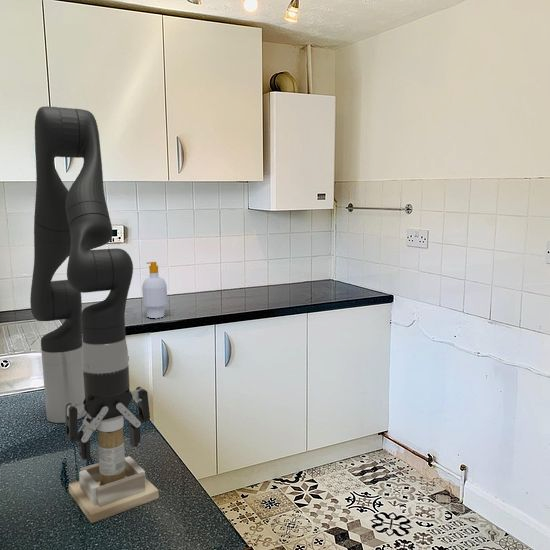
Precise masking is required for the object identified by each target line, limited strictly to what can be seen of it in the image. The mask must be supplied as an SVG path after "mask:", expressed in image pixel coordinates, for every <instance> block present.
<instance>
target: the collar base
mask: <svg viewBox="0 0 550 550" xmlns="http://www.w3.org/2000/svg"><path fill="white" fill-rule="evenodd" d="M79 469H80V471H79V472H78V477H79V480H77V481H74V482H71V483H68V485H67V486H68V493H69V494H70V495H71V497H72V498H73V500H74V501H75V502H76V504H77V505H78V507H79V508H80V510H81V511H82V512H83V514H84V515H85V517H86V518H87V519H88V521H89V522H90V524H93V523H96V522H99V521H101V520H104V519H105V520H106V519H107V518H110V517H112V516H115V515H118V514H120V513H123V512H126V511H129V510H131V509H133V508H137V507H139V506H142V505H144V504H147V503H150V502H152V501H155V500H157V499H159V498H160V494H159V493H160V491H159V489H158V488H157V487H156V486H155V485H154V484H153V483H152V482H151V481H150V480H149V479H147V477H146V470H144V468H142V467H141V466H140V465H139V464H138V463H137V462H136V461H135V459H133V458H132V457H131V456H129V455H128V456H126V455H125V478H123V479H120V480H117V481H114V482H111V483H108V484H105V485H102V486H100V471H99V462H97V463H94V464H90V465H87V466H86V465H85V466H84V467H80V468H79Z"/></svg>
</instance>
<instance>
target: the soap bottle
mask: <svg viewBox="0 0 550 550" xmlns="http://www.w3.org/2000/svg"><path fill="white" fill-rule="evenodd" d="M146 264H147V265H148V269H149V277H147V278H145V279H144V280H143V282H142V286H141V288H142V289H141V292H142V293H141V294H142V305H143V306H144V307H146V308H145V309H146V318H147V317H151V318H158V317H163V316H164V315H165V311H166V310H165V306H167V305H168V287H167V283H166V281H165V279H164V278H163V277H160V276H159V265H158V264H157V261H149V262H146ZM149 264H150V265H149ZM164 317H165V316H164ZM164 317H163V318H164Z"/></svg>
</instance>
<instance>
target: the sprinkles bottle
mask: <svg viewBox="0 0 550 550" xmlns="http://www.w3.org/2000/svg"><path fill="white" fill-rule="evenodd" d="M124 418H125V417H124V416H123V415H121V416H117V417H114V418H110V419H106V420H102V421H101V422H100V424H99V425H98V427H97V429H96V430H97V434H98V435H97V437H98V438H97V440H98V441H97V442H98V443H97V444H98V445H97V449H98V450H97V452H98V463H99V471H100V486H102V485H105V484H108V483H111V482H114V481H117V480H120V479H123V478H125V456H126V455H125V454H126V452H125V440H124V424H125V420H124Z"/></svg>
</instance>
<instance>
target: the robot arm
mask: <svg viewBox="0 0 550 550" xmlns="http://www.w3.org/2000/svg"><path fill="white" fill-rule="evenodd" d="M35 114H36V115H35V120H34V150H35V169H36V170H35V174H36V175H35V176H36V178H35V180H36V183H35V184H36V186H35V187H36V188H35V201H34V203H35V204H34V218H33V219H34V223H33V241H34V242H33V245H34V246H33V247H34V250H33V256H34V257H33V270H32V280H31V285H30V286H31V288H30V298H29V299H30V300H29V301H30V304H29V305H30V310H31V315H32V317H33V318H34V319H35V320H36V321H38V322H51V321H52V322H54V321H61V320H64V322H63V323H62V324H61V325H60V326H59V327H57V328H56V329H54V330H52V331H50V332H48V333H46V334H44V335H42V337H41V339H40V348H41V350H40V351H41V361H42V375H43V376H42V378H43V386H44V387H43V388H44V390H43V391H44V401H45V413H46V420H47V421H48V422H51V423H55V424H65V436H66V438H68V439H69V441H70V442H71V443H75V442H78V444H77V445H78V454H79V457H80V458H81V459H82V460H84V461H85V462H86V463H88V462H91V460H92V457H91V456H92V455H91V453H92V452H91V441H90V437H91V436H92V434H93V432H95V431H96V430H98V429H97V427H98V425H99V424H100V422H101V421H102V420H106V419H110V418H114V417H117V416H121V415H123V417H124V418H125V419H126V420H127V421H128V423H130V424H128V435H129V437H128V438H129V445H131V446H132V448H137V447H139V443H141V437H142V436H141V425H142V424H143V423H145V422H146V423H147V422H149V421H150V419H151V413H150V412H151V411H150V404H149V403H150V402H149V394H148V391H147V390H146V389H144V388H143V387H141V386H136V389H134V390H132V391H131V390H130V387H131V386H130V371H129V370H130V369H129V366H130V365H129V361H130V359H129V357H130V356H129V350H128V344H127V340H126V339H127V338H126V319H125V313H126V307H127V306H126V305H127V300H128V295H129V291H130V288H131V284H132V279H133V275H134V274H133V273H134V264H133V260H132V258H131V256H130V254H129V253H128V252H127V251H126V250H125V249H122V248H116V247H115V248H107V249H106V248H103V249H102V248H101V247H102V246H105V245H106V244H108V243H110V241H111V240H112V238H113V234H114V232H113V231H114V230H113V225H112V223H111V217H110V214H109V210H108V209H109V208H108V205H107V201H106V200H107V199H106V196H105V188H104V176H103V175H104V174H103V163H102V151H101V142H100V131H99V128H98V127H99V126H98V123H97V119H96V118H95V115H94V114H93V113H92V112H91V111H89V110H87V109H83V108H82V109H81V108H71V107H70V108H69V107H61V106H60V107H59V106H58V107H57V106H49V105H48V106H41V107H39V108H38V110H37V111H36V113H35ZM55 158H77V159H78V158H79V159H80V158H81V159H83V164H82V168H81V169H80V172H79V173H78V175H77V176H76V178H75V180H74V181H73V183H72V184H71V185H70V187H69V190H68V188H67V187H66V185H65V183H64V182H63V181H62V179H61V177H60V175H59V174H58V171H57V169H56V166H55ZM97 248H99V249H97ZM100 248H101V249H100ZM67 259H68V261H67V265H66V279H62V280H53V278H54V275H55V273H56V271H57V270H58V269H59V268H60V267H61V266H62V265H63V263H65V261H66V260H67ZM105 291H109V293H108V295H107V296H106V298H104V299H103V300H102V301H100V302H95V303H94V304H91V305H87V306H86V307H84V308H83V307H82V303H83V302H82V301H83V300H82V294H86V293H96V292H105ZM82 308H83V309H82ZM132 400H134V401H135V402H136V405H137V414H136V415H134V413H132V412H131V411H130V410H129V409H128V408H129V406H130V404H131V402H132ZM83 417H84V419H83V420H82V425H81V426H80V428H79V430H78V420H80V419H82V418H83Z"/></svg>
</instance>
